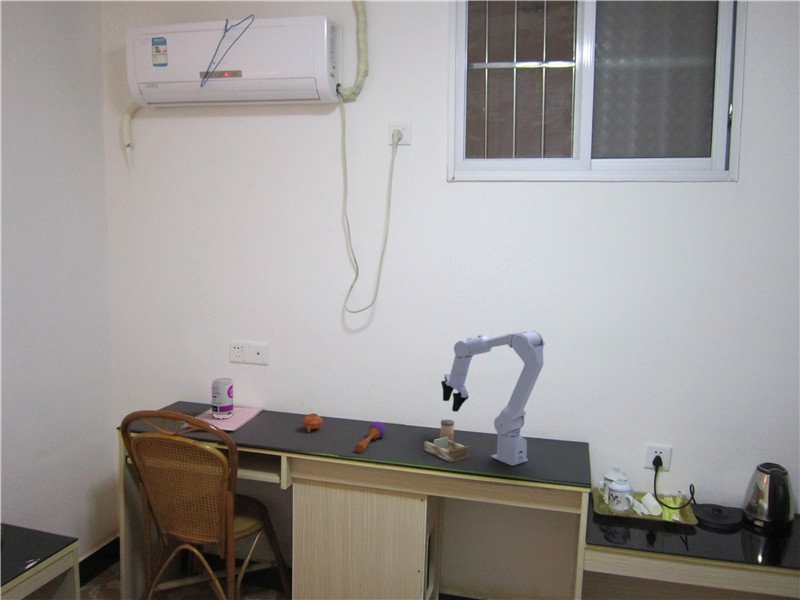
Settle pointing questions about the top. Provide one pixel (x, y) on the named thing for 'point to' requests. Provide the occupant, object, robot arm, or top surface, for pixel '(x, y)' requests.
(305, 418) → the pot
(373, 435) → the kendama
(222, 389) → the supplement can
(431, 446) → the tray
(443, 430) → the jar
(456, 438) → the top surface
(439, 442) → the pusher
